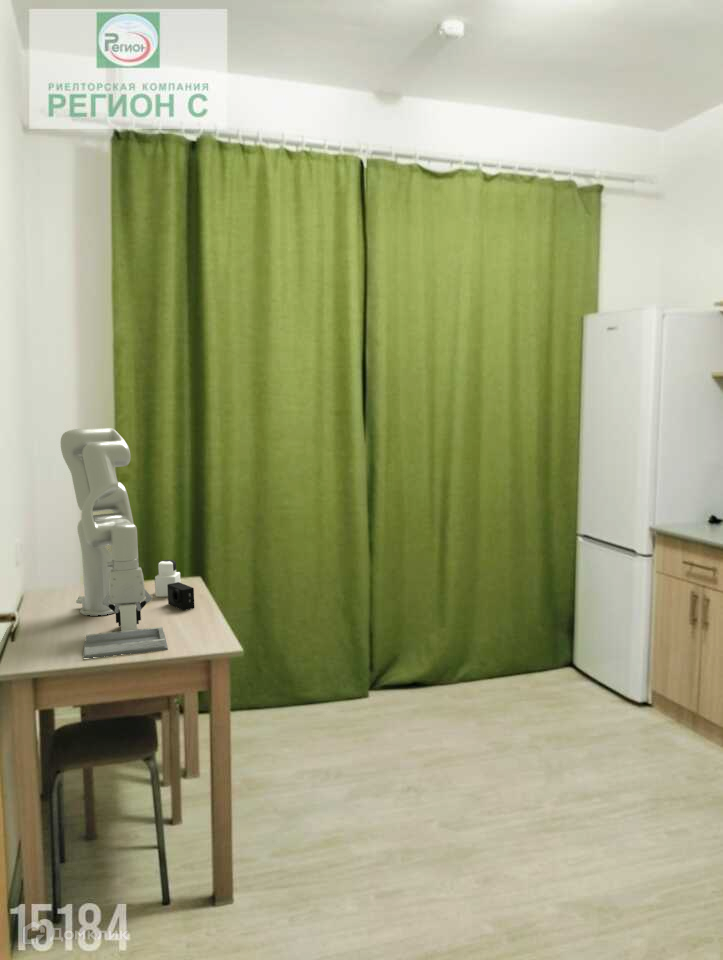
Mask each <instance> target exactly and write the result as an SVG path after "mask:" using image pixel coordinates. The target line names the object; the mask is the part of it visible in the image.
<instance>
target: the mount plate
mask: <svg viewBox="0 0 723 960" xmlns="http://www.w3.org/2000/svg"><path fill="white" fill-rule="evenodd" d="M164 636H165V645H166V647H160V648H151V649H142V650H134V651H125V652H116V653H108V654H99V655H90V656H85V647H94V646H103V645H112V644H121V643H130V642H139V641H147V640H156V639H159V635H155V636H145V637H136V638H127V639H118V640H109V641H100V642H91V643H86V640H84V643H83V644H84V646H83V656H82V659H83V658H92V659H94V658H93V657H100V658H107V657H106V656H109V657H114V656H113V655H117V656H122V655H121V654H126V655H134V654H133V653H135V654H142V653H150V652H151V651H152V652H159V651H168V648H169V647H168V643H167V639H166V634H165V633H164ZM152 652H151V653H152ZM130 653H131V654H130ZM104 656H105V657H104Z"/></svg>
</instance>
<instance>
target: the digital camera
mask: <svg viewBox="0 0 723 960" xmlns="http://www.w3.org/2000/svg"><path fill="white" fill-rule="evenodd" d="M167 586H168V597H167V601H168V602H167V603H168V604H167V605H169V604H170V606H172V607H174V608H176V607H177V609H178V608H179V610H181V611H186V609H188V610H191V609H190V608H192V609H195V589H194V587H192V586H190V585H188V584H184V583H179V582H177V583H172V584H168V585H167Z"/></svg>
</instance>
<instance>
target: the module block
mask: <svg viewBox="0 0 723 960" xmlns="http://www.w3.org/2000/svg"><path fill="white" fill-rule="evenodd" d="M120 618H121V626H120V631H127V630H136V629H138V624H137V620H136V603H126V604H120Z"/></svg>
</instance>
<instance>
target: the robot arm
mask: <svg viewBox="0 0 723 960" xmlns="http://www.w3.org/2000/svg"><path fill="white" fill-rule="evenodd" d="M60 451H61V455H62V457H63V460H64V462H65V464H66V466H67V467H68V470H69V471H70V472H69V473H70V474H71V479H72V485H73V489H74V494H75V498H76V503H77V507H78V508H79V510H80V511H81V516H80V517H81V518H80V520H79V521H78V524H77V534H78V539H79V543H80V548H81V557H82V573H83V574H82V575H83V577H82V578H83V589H84V590H83V591H84V595H79V596H78V597H77V598H76V601H75V603H76V604H79V605H80V604H82V605H81V606H82V607H80V610H79V611H80V614H82V615H84V616H87V615H90V616H89V617H93V616H94V617H98V615H101V616H106V615H107V614H108V615H112V614H115V623H116V624H117V623H118V627H121V618H120V604H126V603H136V620H137V625H139V621H142V616H141V613H142V612H141V611H142V609H143V608H144V607H145V606H146V605H147V604H148V603H149V602H151V601H152V600H153V596H152V595H151V594H150V593H149V592H148V591H147V589H146V588H145V580H144V578H145V577H144V573H143V569H142V567H141V566H139V548H138V547H139V545H138V528H137V526H136V525H135V524H134V517H133V513H132V508H131V505H130V504H131V503H130V499H129V495H128V491H127V489H126V487H125V485H124V484H123V483H122V482H120V481H118V477H117V474H116V473H117V472H116V469H115V468H121V467H127V466H128V465H129V464H130V462H131V459H132V458H131V457H132V456H131V451H130V447H129V445H128V443H127V442H126V440H125V439H124V438H123V436H121V435H120V433H118V431H116V429H115V428H111V427H94V428H93V427H91V428H90V427H89V428H88V427H86V428H84V427H83V428H73V429H70V430H66V431H65V432H63V433H62V434H61V437H60ZM106 511H112V513H101V514H93V513H97V512H99V513H100V512H106ZM106 546H110V547H111V550H109V549H108V548H107V547H106ZM108 615H107V616H108Z"/></svg>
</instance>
